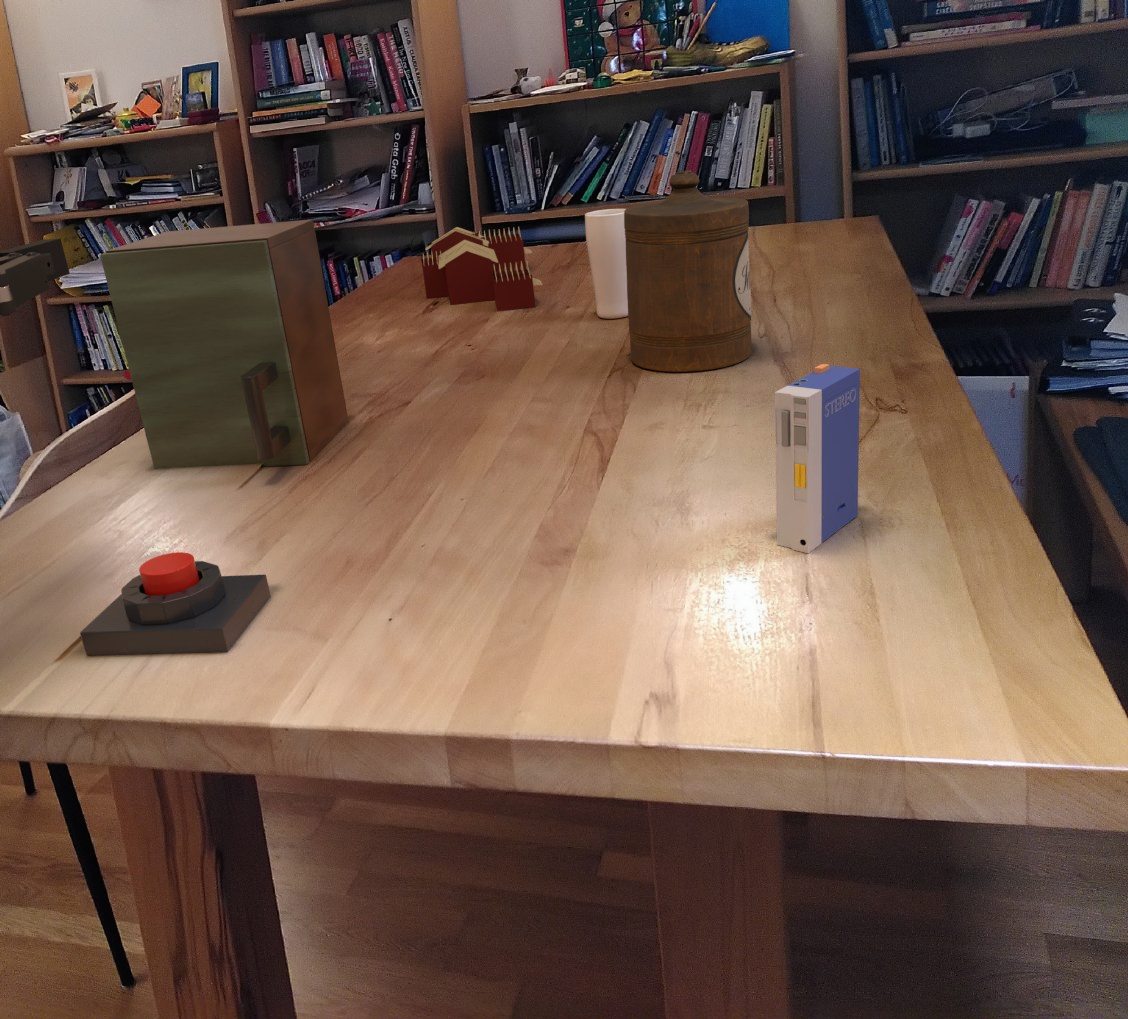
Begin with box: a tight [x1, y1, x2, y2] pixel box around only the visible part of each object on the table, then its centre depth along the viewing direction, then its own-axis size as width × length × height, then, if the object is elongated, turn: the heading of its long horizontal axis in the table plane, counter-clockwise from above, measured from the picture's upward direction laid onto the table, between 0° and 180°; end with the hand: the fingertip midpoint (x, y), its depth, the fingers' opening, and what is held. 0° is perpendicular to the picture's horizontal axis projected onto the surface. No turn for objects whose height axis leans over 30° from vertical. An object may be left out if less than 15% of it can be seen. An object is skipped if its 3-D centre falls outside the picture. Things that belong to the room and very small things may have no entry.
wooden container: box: [624, 170, 752, 373], centre depth 125 cm, size 15×15×22 cm
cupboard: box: [104, 219, 350, 463], centre depth 107 cm, size 13×16×22 cm
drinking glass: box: [584, 208, 628, 320], centre depth 152 cm, size 7×7×15 cm
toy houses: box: [420, 225, 544, 312], centre depth 184 cm, size 45×20×10 cm, turn 6°
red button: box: [138, 551, 199, 596], centre depth 72 cm, size 4×4×2 cm
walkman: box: [774, 363, 861, 554], centre depth 76 cm, size 8×3×12 cm, turn 139°
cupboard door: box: [99, 240, 311, 470], centre depth 98 cm, size 6×16×22 cm, turn 84°
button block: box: [79, 560, 272, 657], centre depth 72 cm, size 10×8×4 cm
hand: (56, 256), depth 80 cm, fingers closed
